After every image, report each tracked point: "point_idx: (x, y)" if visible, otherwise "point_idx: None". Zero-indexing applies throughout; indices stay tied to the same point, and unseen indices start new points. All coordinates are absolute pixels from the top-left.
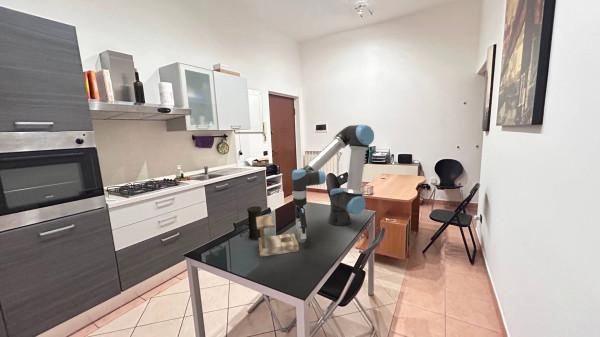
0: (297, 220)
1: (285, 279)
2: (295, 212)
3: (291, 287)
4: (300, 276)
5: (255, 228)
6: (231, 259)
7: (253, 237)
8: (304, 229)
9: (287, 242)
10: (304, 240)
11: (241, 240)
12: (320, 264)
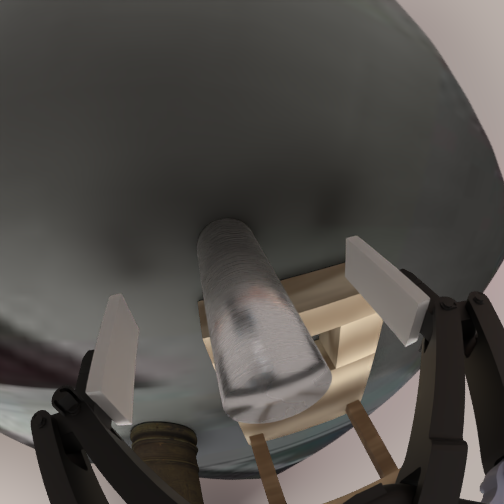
0: (124, 398)
1: (475, 280)
2: (95, 491)
3: (496, 261)
4: (486, 240)
5: (197, 477)
6: (327, 429)
7: (195, 445)
8: (432, 299)
9: (346, 344)
10: (246, 228)
11: (200, 453)
12: (473, 161)
